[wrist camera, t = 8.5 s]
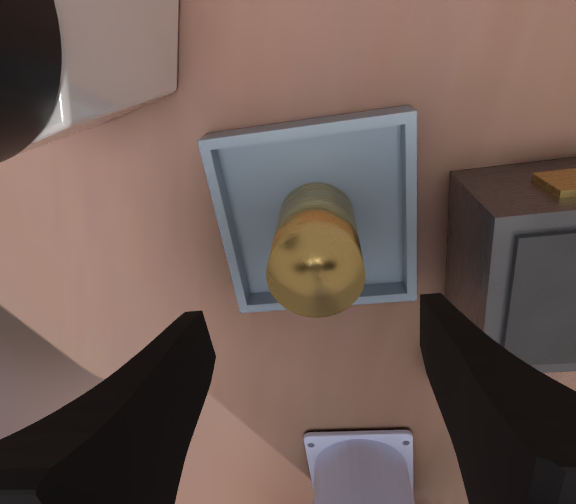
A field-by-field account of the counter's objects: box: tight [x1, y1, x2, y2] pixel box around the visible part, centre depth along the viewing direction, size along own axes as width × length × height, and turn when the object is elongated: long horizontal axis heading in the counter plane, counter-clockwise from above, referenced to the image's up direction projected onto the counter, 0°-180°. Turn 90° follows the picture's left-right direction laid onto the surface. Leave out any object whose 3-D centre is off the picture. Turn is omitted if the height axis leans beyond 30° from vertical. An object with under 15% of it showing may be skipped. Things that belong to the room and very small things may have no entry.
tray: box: [198, 105, 417, 313], centre depth 21 cm, size 10×10×2 cm
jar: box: [0, 0, 179, 162], centre depth 13 cm, size 9×8×12 cm
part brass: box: [266, 182, 366, 317], centre depth 19 cm, size 4×4×6 cm
